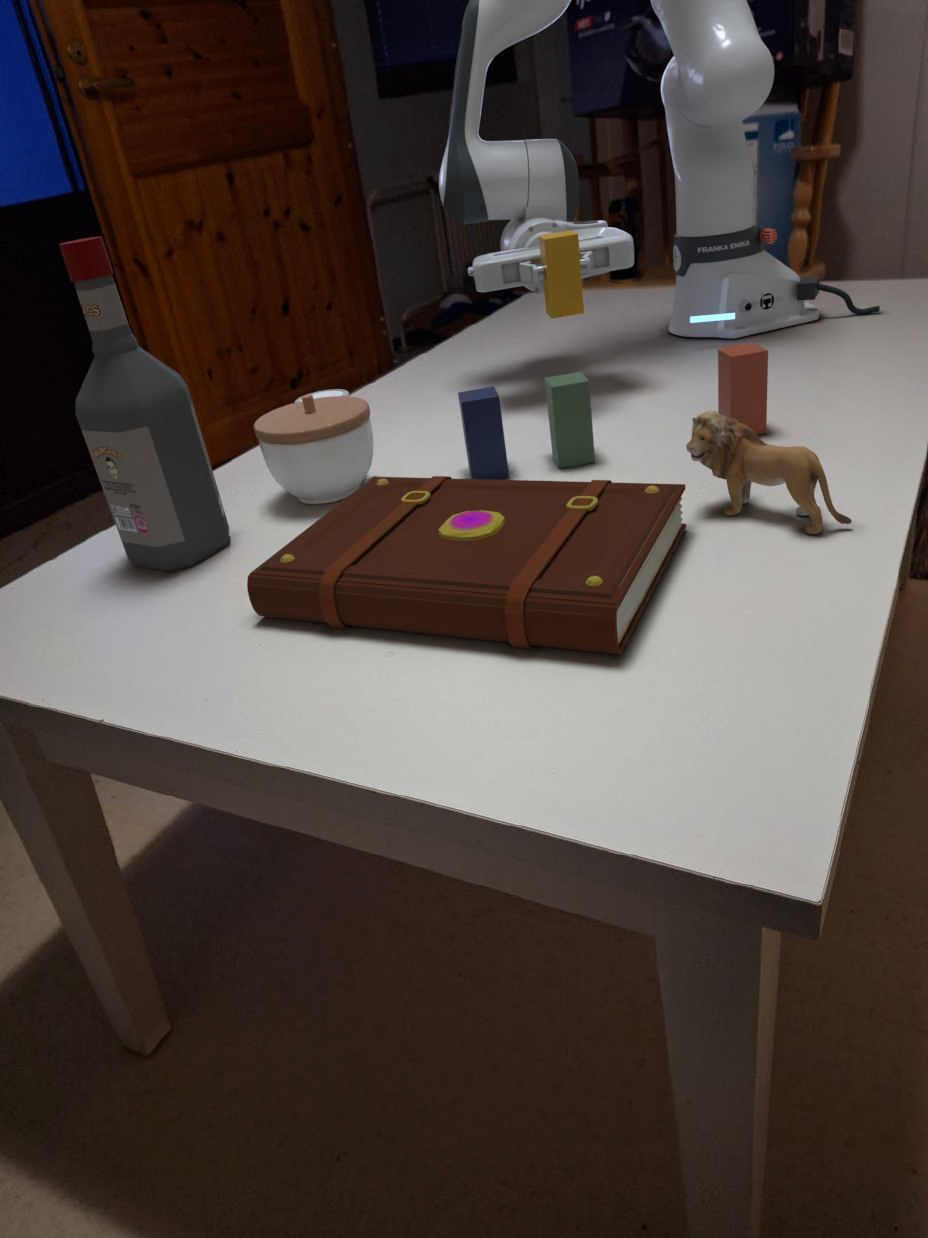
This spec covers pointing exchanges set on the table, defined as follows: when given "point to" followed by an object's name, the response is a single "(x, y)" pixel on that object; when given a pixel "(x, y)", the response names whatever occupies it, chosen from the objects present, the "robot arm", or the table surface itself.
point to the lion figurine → (759, 465)
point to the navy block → (484, 433)
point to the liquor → (142, 431)
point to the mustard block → (562, 273)
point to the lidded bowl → (318, 446)
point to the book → (481, 560)
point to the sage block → (570, 419)
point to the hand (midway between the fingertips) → (562, 270)
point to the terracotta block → (744, 384)
